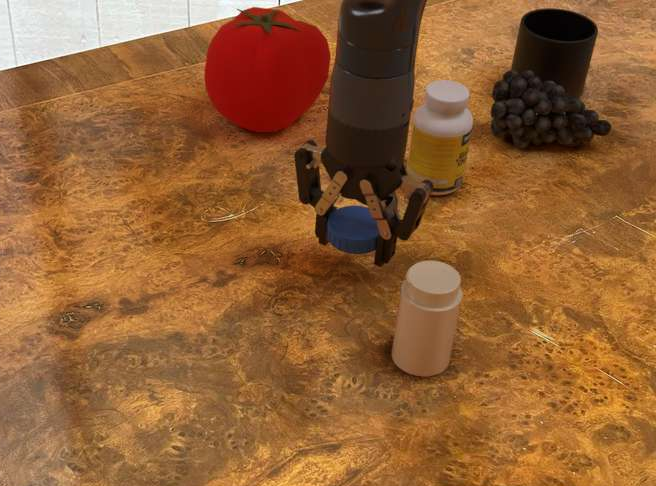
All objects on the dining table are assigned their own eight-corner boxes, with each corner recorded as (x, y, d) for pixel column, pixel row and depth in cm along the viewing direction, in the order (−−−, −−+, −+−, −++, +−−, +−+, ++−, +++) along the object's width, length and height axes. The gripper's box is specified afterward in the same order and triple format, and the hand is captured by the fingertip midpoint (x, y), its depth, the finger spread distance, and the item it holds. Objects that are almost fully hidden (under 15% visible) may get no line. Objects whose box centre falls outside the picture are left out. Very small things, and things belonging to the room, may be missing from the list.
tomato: (219, 155, 124) (219, 47, 115) (191, 96, 134) (189, -7, 125) (345, 137, 128) (355, 31, 119) (309, 82, 138) (316, -20, 129)
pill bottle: (449, 204, 118) (465, 112, 110) (395, 186, 120) (407, 95, 112) (470, 176, 122) (487, 85, 114) (418, 159, 124) (431, 70, 117)
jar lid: (368, 262, 103) (370, 247, 102) (315, 242, 106) (316, 227, 104) (393, 231, 107) (395, 217, 106) (342, 213, 109) (344, 198, 108)
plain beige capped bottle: (440, 334, 101) (454, 255, 95) (457, 374, 97) (473, 294, 91) (384, 339, 101) (396, 259, 94) (399, 379, 97) (412, 299, 90)
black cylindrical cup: (579, 67, 142) (595, 3, 136) (583, 112, 133) (600, 46, 128) (508, 59, 144) (521, -5, 138) (507, 103, 135) (520, 37, 129)
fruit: (625, 71, 123) (494, 52, 125) (622, 126, 119) (486, 105, 121) (605, 120, 130) (482, 102, 132) (602, 173, 126) (474, 154, 128)
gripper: (280, 99, 97) (273, 246, 108) (425, 147, 91) (402, 297, 102) (319, 66, 102) (309, 210, 113) (459, 109, 96) (434, 256, 107)
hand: (353, 250), depth 107 cm, fingers closed on jar lid, 5 cm apart
